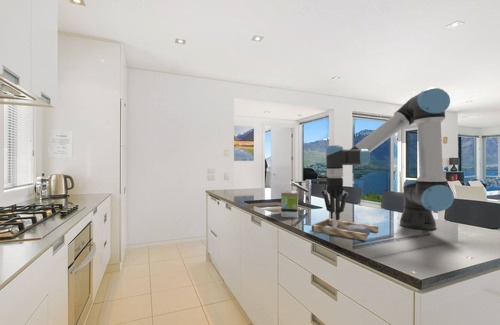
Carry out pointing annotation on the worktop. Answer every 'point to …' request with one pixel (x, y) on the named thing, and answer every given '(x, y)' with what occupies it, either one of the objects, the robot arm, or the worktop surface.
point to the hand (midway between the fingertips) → (335, 226)
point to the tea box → (289, 204)
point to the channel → (351, 234)
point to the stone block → (356, 228)
